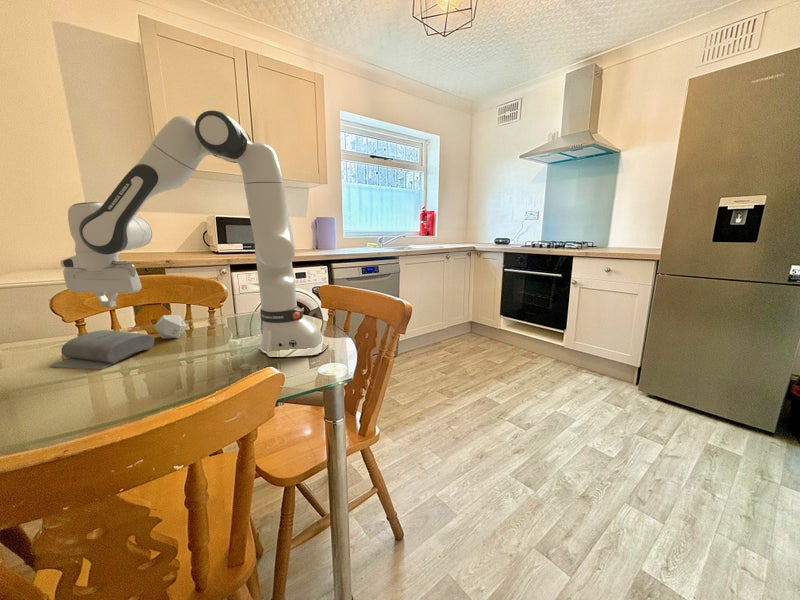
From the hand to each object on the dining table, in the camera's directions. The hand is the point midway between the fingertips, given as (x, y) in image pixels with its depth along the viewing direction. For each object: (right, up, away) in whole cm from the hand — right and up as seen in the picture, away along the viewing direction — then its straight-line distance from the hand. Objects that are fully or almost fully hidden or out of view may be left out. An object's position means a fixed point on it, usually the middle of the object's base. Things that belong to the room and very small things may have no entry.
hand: (109, 306), depth 96 cm
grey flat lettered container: (+4, -13, +4) cm, 14 cm away
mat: (-6, -16, +4) cm, 18 cm away
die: (+4, -12, +21) cm, 25 cm away
